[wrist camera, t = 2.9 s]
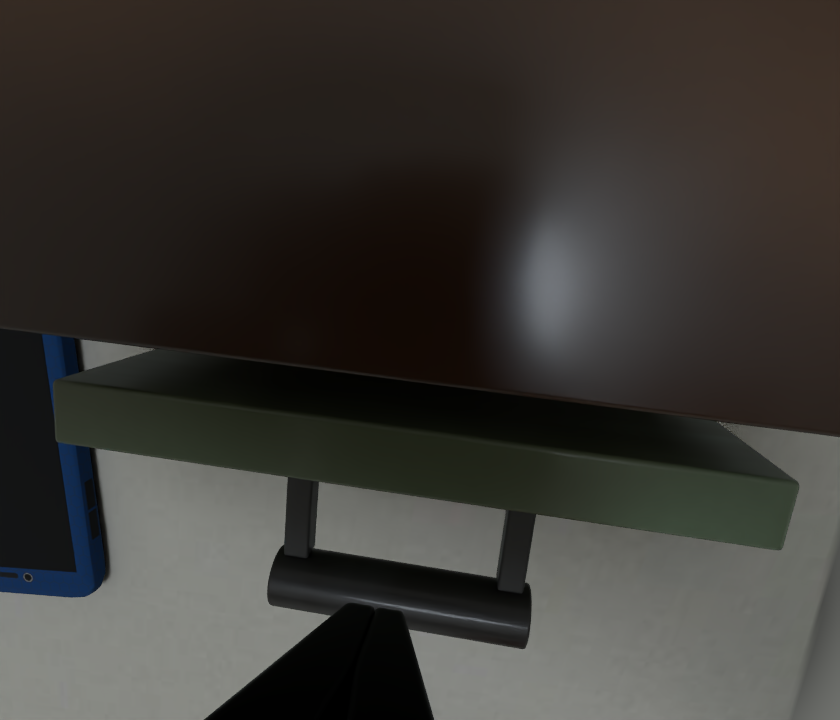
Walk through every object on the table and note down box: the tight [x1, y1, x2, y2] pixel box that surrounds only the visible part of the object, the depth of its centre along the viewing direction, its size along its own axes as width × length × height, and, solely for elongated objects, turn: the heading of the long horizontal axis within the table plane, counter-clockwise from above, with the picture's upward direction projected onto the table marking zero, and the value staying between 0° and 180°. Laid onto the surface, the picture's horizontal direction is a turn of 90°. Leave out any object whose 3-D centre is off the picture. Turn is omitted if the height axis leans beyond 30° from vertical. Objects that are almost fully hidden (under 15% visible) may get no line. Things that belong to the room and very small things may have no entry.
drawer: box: [53, 349, 799, 649], centre depth 12 cm, size 20×12×8 cm, turn 174°
